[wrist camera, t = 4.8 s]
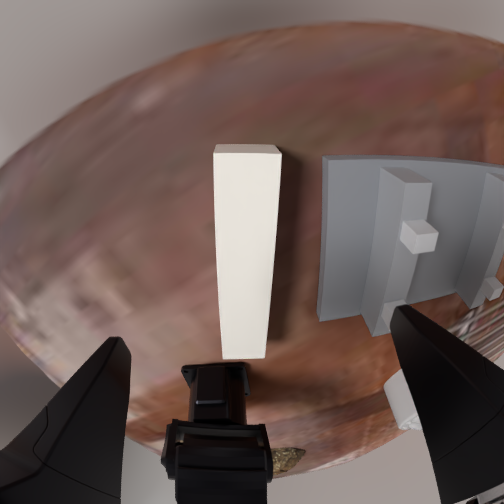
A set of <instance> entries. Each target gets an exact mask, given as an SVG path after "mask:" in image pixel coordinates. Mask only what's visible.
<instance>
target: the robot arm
mask: <svg viewBox="0 0 504 504" xmlns="http://www.w3.org/2000/svg"><path fill="white" fill-rule="evenodd" d="M390 331H391V335H392V338H393V341H394V345H395V348H396V352H397V356H398V359H399V363H400V366H401V369H402V372H403V375H404V377H405V380H406V383H407V385H408V388H409V391H410V394H411V396H412V399H413V402H414V405H415V408H416V411H417V414H418V417H419V420H420V423H421V426H422V429H423V433H424V436H425V439H426V443H427V446H428V449H429V453H430V457H431V461H432V465H433V469H434V473H435V477H436V482H437V486H438V491H439V495H440V500H441V504H454V503H457V502H460V501H463V500H466V499H468V498H471V497H473V496H475V497H473V498H472V499H470V500H469V501H467V503H466V504H504V370H503V369H501V368H500V367H498V366H497V365H496V364H494V363H493V362H491V361H490V360H489V359H487V358H486V357H484V356H483V355H481V354H480V353H479V352H477V351H476V350H474V349H473V348H472V347H470V346H469V345H467V344H466V343H464V342H463V341H462V340H460V339H459V338H457V337H456V336H454V335H453V334H451V333H450V332H448V331H447V330H446V329H444V328H443V327H441V326H440V325H438V324H437V323H435V322H434V321H432V320H431V319H429V318H428V317H426V316H425V315H423V314H422V313H420V312H419V311H417V310H416V309H414V308H413V307H411V306H409V305H408V304H403V305H398V306H396V307H395V309H394V312H393V315H392V318H391V321H390ZM181 372H182V374H183V376H184V378H185V380H186V382H187V384H188V386H189V388H190V401H189V416H188V421H181V420H178V419H173V420H172V424H168V425H167V429H166V438H165V443H164V447H163V452H162V456H161V464H162V465H163V466H164V467H165V468H166V472H167V474H168V479H170V480H175V498H176V501H177V504H267V483H270V482H271V481H272V477H273V458H272V453H271V449H270V444H269V440H268V436H267V431H266V427H265V424H259V425H247V419H246V403H245V396H249V395H250V387H249V382H248V377H247V372H246V367H245V364H244V363H231V364H216V365H198V366H183V367H182V368H181ZM130 374H131V353H130V351H129V349H128V347H127V346H126V344H125V342H124V341H123V339H122V338H121V337H109V338H108V339H107V340H106V341H105V342H104V343H103V344H102V345H101V346H100V347H99V348H98V349H97V350H96V351H95V352H94V353H93V354H92V355H91V357H90V358H89V359H88V360H87V361H86V362H85V363H84V364H83V365H82V366H81V367H80V368H79V369H78V370H77V372H76V373H75V374H74V375H73V376H72V377H71V378H70V379H69V380H68V381H67V382H66V383H65V385H64V386H63V387H62V388H61V389H60V390H59V391H58V392H57V394H56V395H55V396H54V397H53V398H52V399H51V400H50V401H49V402H48V404H47V405H46V406H45V407H44V408H43V409H42V410H41V412H40V413H39V414H38V415H37V416H36V417H35V418H34V419H33V420H32V421H31V423H30V424H28V426H26V427H25V428H24V429H23V430H22V431H21V432H20V433H19V434H18V435H17V436H16V437H15V438H14V439H13V440H12V441H11V442H10V443H9V444H8V445H7V446H6V447H5V448H3V449H2V450H0V504H121V499H120V497H121V474H122V460H123V459H122V458H123V448H124V437H125V428H126V420H127V412H128V404H129V395H130ZM180 440H183V442H180Z"/></svg>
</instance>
